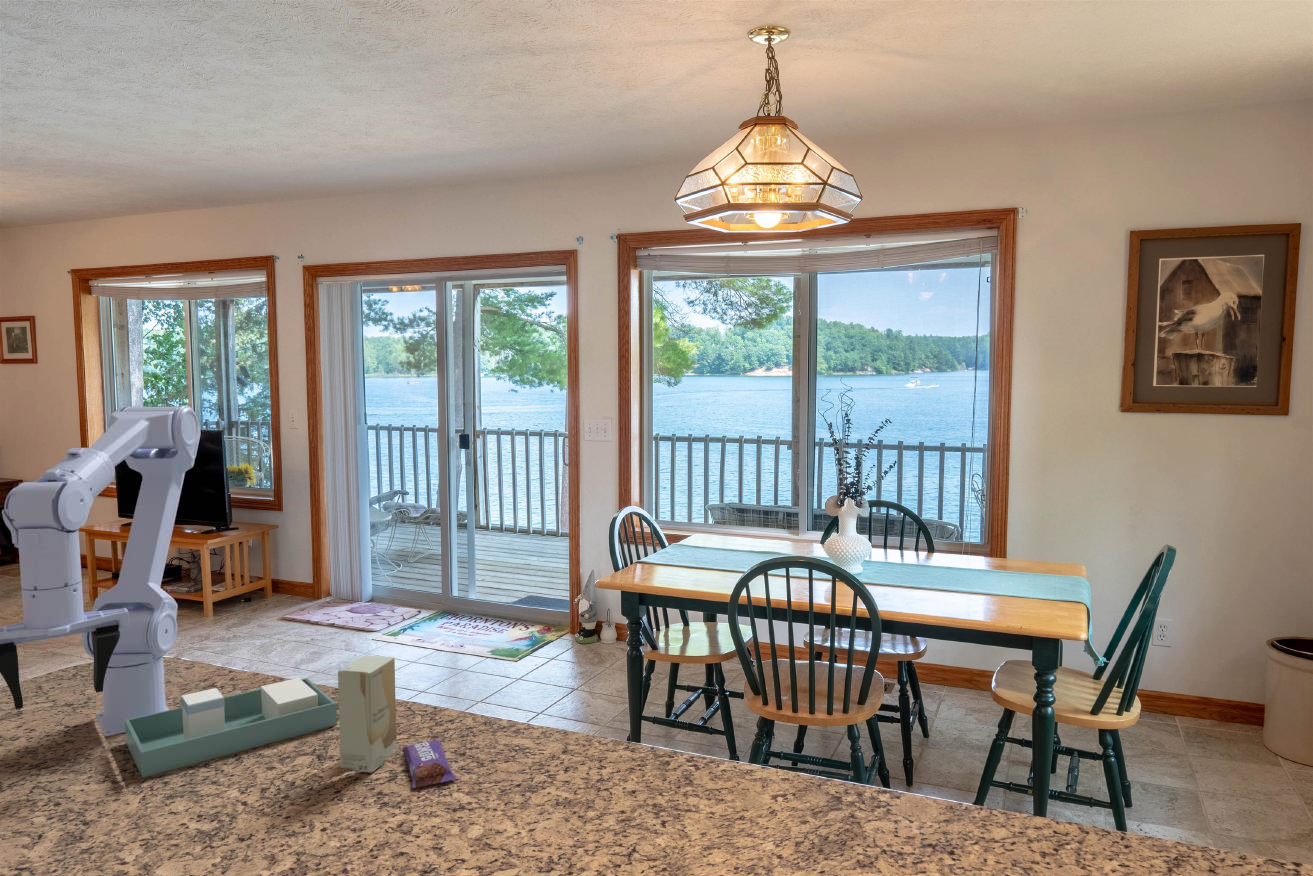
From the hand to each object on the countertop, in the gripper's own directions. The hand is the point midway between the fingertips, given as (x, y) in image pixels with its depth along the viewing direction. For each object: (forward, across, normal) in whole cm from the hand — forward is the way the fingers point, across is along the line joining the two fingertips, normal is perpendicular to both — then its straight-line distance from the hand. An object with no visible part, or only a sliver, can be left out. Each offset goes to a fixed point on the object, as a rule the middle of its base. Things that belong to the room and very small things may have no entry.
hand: (59, 697), depth 99 cm
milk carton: (+9, +14, -2) cm, 17 cm away
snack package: (+10, +34, -26) cm, 44 cm away
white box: (+9, +25, -2) cm, 27 cm away
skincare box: (+10, +29, -20) cm, 37 cm away
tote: (+9, +18, -2) cm, 20 cm away
